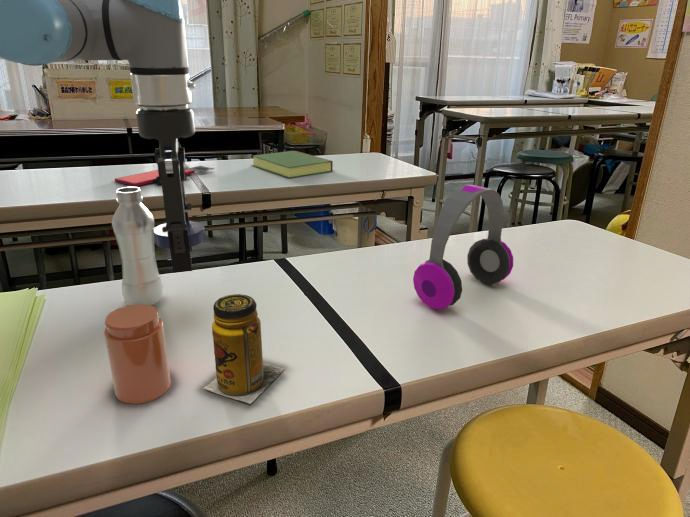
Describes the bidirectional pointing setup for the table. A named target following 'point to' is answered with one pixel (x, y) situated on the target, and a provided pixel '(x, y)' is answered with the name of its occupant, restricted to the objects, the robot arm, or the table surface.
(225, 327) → the condiment
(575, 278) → the table surface
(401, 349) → the table surface
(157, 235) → the lid
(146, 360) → the jar
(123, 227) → the plastic bottle
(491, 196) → the headphones
